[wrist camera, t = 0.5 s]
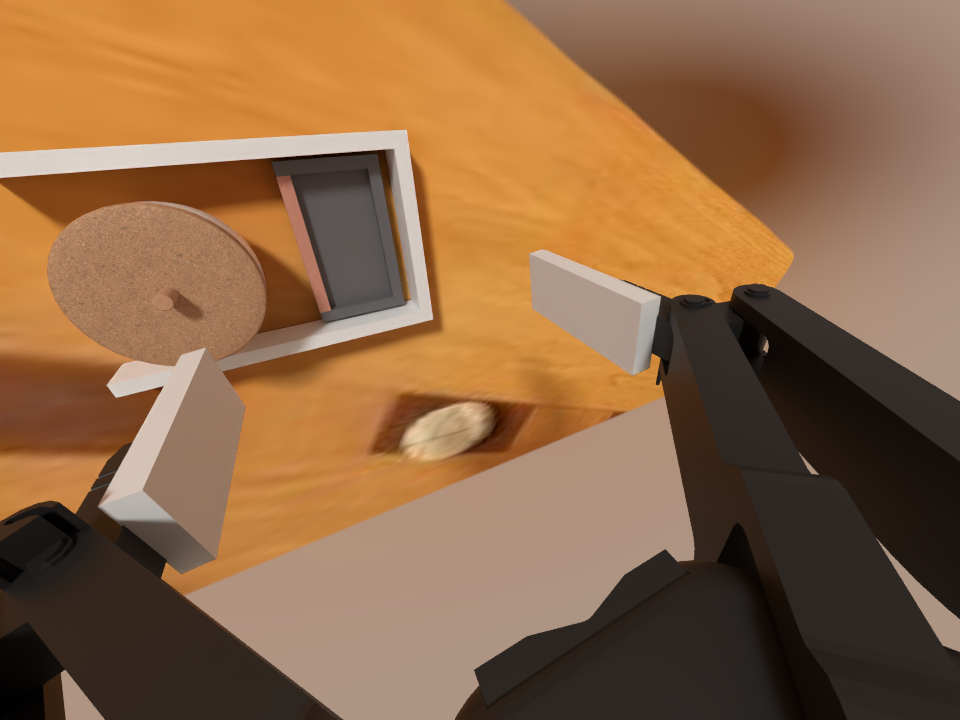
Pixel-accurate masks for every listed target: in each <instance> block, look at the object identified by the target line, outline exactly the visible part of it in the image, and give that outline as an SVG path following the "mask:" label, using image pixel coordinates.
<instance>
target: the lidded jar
mask: <svg viewBox="0 0 960 720" xmlns="http://www.w3.org/2000/svg"><path fill="white" fill-rule="evenodd" d="M47 274H48V279H49V285H50V288H51V290H52V293H53V295H54V298H55V300H56V302H57V303H58V305H59V306H60V308H61V310H62V311H63V313H64V314H65V315H66V316H67V317H68V318H69V320H70V321H71V322H72V323H73V324H74V325H75V326H76V327H77V328H78V329H79V330H81V331H82V332H83V333H84V334H85V335H87V336H88V337H89V338H91V339H92V340H94V341H95V342H97V343H99V344H100V345H102V346H103V347H105V348H108V349H110V350H112V351H114V352H116V353H118V354H120V355H123V356H126V357H128V358H131V359H134V360H138V361H142V362H146V363H150V364H157V365H164V366H175V365H176V364H177V362H178V360H179V358H180V356H181V355H182V354H186V353H189V352H193V351H196V350H199V349H203V348H207V350H208V351H209V353H210V354H211V356H212V357H213V359H214V360H215V361H218V360H221V359H224V358H226V357H228V356H230V355H232V354H234V353H236V352H237V351H239V350H240V349H242V348H243V347H245V346H246V345H247V344H248V343H249V342H250V341H251V340H252V339H253V338H254V336H255V335H256V334H257V332H258V331H259V329H260V327H261V325H262V323H263V321H264V318H265V314H266V310H267V290H266V282H265V276H264V273H263V270H262V267H261V264H260V262H259V260H258V258H257V256H256V254H255V253H254V251H253V250H252V248H251V247H250V246H249V244H248V243H247V242H246V241H245V240H244V239H243V238H242V237H241V236H240V234H238V233H237V232H236V231H235V230H234V229H232V228H231V227H230V226H229V225H227V224H226V223H224V222H222V221H221V220H219V219H218V218H216V217H214V216H212V215H210V214H208V213H206V212H204V211H201V210H198V209H195V208H192V207H189V206H185V205H181V204H176V203H169V202H158V201H143V202H133V203H121V204H116V205H111V206H106V207H102V208H100V209H97V210H94V211H91V212H89V213H86V214H84V215H82V216H81V217H79V218H77V219H76V220H74V221H72V222H71V223H70V224H69V225H68V226H67V227H66V228H65V229H64V230H62V231H61V232H60V234H59V235H58V237H57V238H56V240H55V242H54V243H53V245H52V248H51V251H50V254H49V257H48V268H47Z"/></svg>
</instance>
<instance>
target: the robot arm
mask: <svg viewBox="0 0 960 720" xmlns="http://www.w3.org/2000/svg"><path fill="white" fill-rule="evenodd" d="M529 258H530V275H531V292H532V309H534V310H535V311H537V312H538V313H540V314H541V315H543V316H544V317H546V318H547V319H549V320H550V321H552V322H553V323H555V324H556V325H558V326H559V327H561V328H562V329H564V330H565V331H567V332H568V333H570V334H571V335H573V336H574V337H576V338H577V339H579V340H580V341H582V342H583V343H585V344H586V345H588V346H589V347H591V348H592V349H594V350H595V351H597V352H598V353H600V354H601V355H603V356H604V357H606V358H607V359H609V360H610V361H612V362H613V363H615V364H616V365H618V366H619V367H620V368H622V369H623V370H625V371H626V372H628V373H629V374H631V375H632V376H633V375H635V374H637V373H639V372H642V371H644V370H646V369H648V368H650V361H651V355H652V353H653V354H655V355H656V356H658V357H660V364H659V369H658V375H657V380H656V385H659V384H660V381H661V380H662V385H663V390H664V395H665V400H666V405H667V409H668V414H669V419H670V424H671V429H672V434H673V439H674V443H675V449H676V454H677V458H678V463H679V468H680V473H681V478H682V483H683V487H684V492H685V498H686V502H687V507H688V512H689V517H690V522H691V527H692V532H693V537H694V547H695V551H694V552H695V553H694V560H691V561H679V562H677V561H676V560H675V559H674V558H673V557H672V556H671V555H670V554H669V553H668V551H667V550H663V551H662V552H660V553H659V554H657V555H655V556H654V557H652V558H651V559H649V560H647V561H646V562H644V563H643V564H641V565H640V566H638V567H636V568H635V569H633V570H632V571H630V572H628V573H627V574H625V575H624V576H623V578H622V579H621V580H620V581H619V583H618V584H617V585H616V586H615V588H614V589H613V590H612V591H611V593H610V594H609V595H608V597H607V598H606V599H605V600H604V601H603V603H602V604H601V605H600V607H599V608H598V609H597V610H596V612H595V613H594V614H593V616H591V618H589V619H588V620H586V621H584V622H581V623H577V624H573V625H569V626H565V627H562V628H557V629H554V630H550V631H546V632H542V633H538V634H534V635H530V636H527V637H525V638H524V639H522V640H521V641H519V642H517V643H516V644H514V645H513V646H511V647H510V648H508V649H506V650H505V651H503V652H502V653H500V654H498V655H497V656H495V657H494V658H492V659H491V660H489V661H487V662H486V663H484V664H483V665H481V666H480V667H478V668H476V669H475V670H474V671H475V674H476V677H477V680H478V683H479V686H478V687H477V689H476V690H475V691H474V692H473V693H472V694H471V696H470V697H469V698H468V699H467V701H466V702H465V704H464V705H463V707H462V708H461V710H460V711H459V713H458V714H457V716H456V718H455V720H960V652H958V651H955V650H952V649H950V648H948V647H945V646H942V644H941V642H940V641H939V639H938V638H937V636H936V634H935V633H934V631H933V629H932V628H931V626H930V625H929V623H928V621H927V620H926V618H925V617H924V615H923V613H922V612H921V610H920V608H919V607H918V605H917V604H916V602H915V600H914V599H913V597H912V595H911V594H910V592H909V591H908V589H907V587H906V586H905V584H904V583H903V581H902V579H901V578H900V576H899V575H898V573H897V571H896V570H895V568H894V566H893V565H892V563H891V562H890V560H889V558H888V557H887V555H886V554H885V552H884V550H883V549H882V547H881V545H880V544H879V542H878V541H877V539H878V540H879V541H880V543H881V544H882V545H883V546H884V547H885V548H886V549H887V550H888V551H889V552H890V554H891V555H892V556H893V557H894V558H895V559H896V560H897V561H898V562H899V563H900V564H901V565H902V566H903V567H904V568H905V569H906V570H907V571H908V572H909V573H910V574H911V575H912V576H913V577H914V578H915V579H916V580H917V581H918V582H919V583H920V584H921V585H922V586H923V587H924V588H926V589H927V590H928V591H929V592H930V593H931V594H932V595H933V596H934V597H935V598H936V599H937V600H938V601H940V602H941V603H942V604H943V605H944V606H945V607H946V608H947V609H948V610H949V611H951V612H952V613H953V614H954V615H956V616H957V617H958V618H959V619H960V401H959V400H957V399H955V398H954V397H952V396H950V395H949V394H947V393H945V392H944V391H942V390H941V389H939V388H937V387H936V386H934V385H932V384H931V383H929V382H928V381H926V380H924V379H923V378H921V377H919V376H918V375H916V374H915V373H913V372H911V371H910V370H908V369H906V368H905V367H903V366H902V365H900V364H898V363H896V362H895V361H893V360H892V359H890V358H889V357H887V356H885V355H883V354H882V353H880V352H879V351H877V350H876V349H874V348H872V347H871V346H869V345H867V344H866V343H864V342H862V341H861V340H859V339H858V338H856V337H854V336H853V335H851V334H849V333H848V332H846V331H845V330H843V329H841V328H840V327H838V326H836V325H835V324H833V323H832V322H830V321H828V320H826V319H825V318H823V317H822V316H820V315H819V314H817V313H815V312H814V311H812V310H810V309H809V308H807V307H805V306H804V305H802V304H801V303H799V302H797V301H796V300H794V299H792V298H791V297H789V296H787V295H786V294H784V293H783V292H781V291H779V290H777V289H775V288H773V287H768V286H766V285H763V284H759V285H758V284H752V285H742V286H738V287H736V288H734V290H733V294H732V297H731V301H728V302H721V303H716V302H715V301H714V300H712V299H710V298H708V297H705V296H700V295H690V294H689V295H680V296H677V297H674V298H673V299H671V298H668V297H666V296H663V295H661V294H658V293H656V292H653V291H651V290H648V289H646V290H645V288H643V287H641V286H637V285H636V284H633V283H631V282H628V281H625V280H619V279H616V278H614V277H611V276H609V275H606V274H604V273H601V272H599V271H596V270H594V269H591V268H589V267H586V266H584V265H581V264H579V263H576V262H574V261H571V260H569V259H566V258H564V257H561V256H559V255H557V254H554V253H552V252H549V251H547V250H544V249H543V250H540V251H536V252H533V253H529ZM766 340H768V344H769V348H768V352H767V353H766V352H765V351H764V350H763V348H764V346H765V343H766ZM244 412H245V405H244V403H243V402H242V400H241V399H240V397H239V396H238V394H237V393H236V391H235V390H234V388H233V387H232V385H231V384H230V382H229V381H228V379H227V378H226V377H225V375H224V374H223V372H222V371H221V369H220V368H219V366H218V365H217V363H216V362H215V360H214V359H213V357H212V356H211V354H210V353H209V351H208V350H207V348H203V349H199V350H196V351H193V352H189V353H186V354H182V355H181V356H180V358H179V360H178V362H177V364H176V365H175V367H174V369H173V371H172V373H171V374H170V376H169V378H168V380H167V382H166V383H165V385H164V387H163V389H162V391H161V393H160V394H159V396H158V398H157V400H156V402H155V403H154V405H153V407H152V409H151V411H150V412H149V414H148V416H147V418H146V420H145V422H144V423H143V425H142V427H141V429H140V431H139V432H138V434H137V436H136V438H135V440H134V441H133V442H131V443H128V444H125V445H124V446H122V447H121V448H120V449H119V450H118V451H117V452H116V453H115V454H114V455H113V456H112V457H111V458H110V459H109V460H108V461H107V462H106V464H105V466H104V467H103V469H102V471H101V472H100V474H99V478H98V479H96V481H95V482H94V484H93V486H92V487H91V490H92V491H90V492H88V494H87V496H86V497H85V499H84V501H83V502H82V504H81V506H80V507H79V509H78V511H77V512H76V514H74V513H73V512H71V511H70V510H69V509H67V508H66V507H65V506H63V505H62V504H61V503H59V502H55V501H46V502H42V503H37V504H34V505H32V506H30V507H27V508H25V509H22V510H20V511H18V512H16V513H14V514H13V515H11V516H9V517H7V518H6V519H4V520H2V521H0V589H1V591H0V720H66V718H65V710H64V700H63V691H62V681H61V672H62V671H64V670H66V671H67V672H68V673H69V674H70V676H71V677H72V678H73V680H74V681H75V682H76V684H77V685H78V686H79V687H80V689H81V690H82V691H83V692H84V694H85V695H86V696H87V697H88V699H89V700H90V701H91V703H92V704H93V705H94V706H95V707H96V709H97V710H98V711H99V713H100V714H101V715H102V716H103V718H104V719H105V720H343V719H342V718H340V717H339V716H338V715H336V714H335V713H334V712H333V711H331V710H330V709H329V708H327V707H326V706H325V705H324V704H322V703H321V702H319V701H318V700H317V699H316V698H315V697H313V696H312V695H311V694H309V693H308V692H307V691H306V690H304V689H303V688H302V687H300V686H299V685H298V684H296V683H295V682H294V681H292V680H291V679H290V678H289V677H287V676H286V675H285V674H284V673H282V672H281V671H280V670H278V669H277V668H276V667H275V666H273V665H272V664H271V663H269V662H268V661H267V660H265V659H264V658H263V657H262V656H260V655H259V654H258V653H256V652H255V651H254V650H253V649H251V648H250V647H249V646H247V645H246V644H245V643H244V642H242V641H241V640H240V639H238V638H237V637H236V636H235V635H233V634H232V633H231V632H229V631H228V630H227V629H226V628H224V627H223V626H222V625H220V624H219V623H218V622H216V621H215V620H214V619H213V618H211V617H210V616H209V615H207V614H206V613H205V612H204V611H202V610H201V609H200V608H198V607H197V606H196V605H194V604H193V603H192V602H191V601H189V600H188V599H187V598H186V597H184V596H183V595H182V594H180V593H179V592H178V591H176V590H175V589H174V588H173V587H171V586H170V585H169V584H167V583H166V582H165V581H163V580H162V579H161V576H162V573H163V570H164V567H165V564H166V562H167V563H168V564H169V565H171V566H172V567H173V568H174V569H176V570H177V571H178V572H179V573H181V574H183V573H185V572H187V571H189V570H192V569H194V568H196V567H198V566H201V565H203V564H205V563H208V562H210V561H212V560H214V559H216V558H217V552H218V547H219V542H220V537H221V532H222V526H223V521H224V516H225V511H226V505H227V500H228V495H229V490H230V485H231V479H232V474H233V469H234V464H235V459H236V453H237V448H238V443H239V438H240V432H241V427H242V422H243V417H244ZM799 453H800V454H801V455H802V456H803V457H804V458H805V459H806V461H807V462H808V463H809V464H810V465H811V466H812V467H813V468H814V469H815V470H816V471H817V473H818V474H819V475H815V474H811V473H810V472H809V470H808V469H807V467H806V465H805V463H804V461H803V460H802V458H801V456H800V454H799ZM876 538H877V539H876Z"/></svg>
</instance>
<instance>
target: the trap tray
mask: <svg viewBox="0 0 960 720" xmlns="http://www.w3.org/2000/svg"><path fill="white" fill-rule="evenodd" d="M271 163H272V166H273V169H274V172H275V176H276V179H277V182H278V185H279V188H280V191H281V194H282V197H283V200H284V203H285V206H286V209H287V213H288V216H289V219H290V222H291V225H292V228H293V231H294V234H295V237H296V240H297V243H298V246H299V249H300V253H301V256H302V259H303V262H304V265H305V268H306V271H307V274H308V277H309V280H310V283H311V286H312V289H313V293H314V296H315V299H316V302H317V305H318V308H319V311H320V314H321V317H322V320H323V322H327V321H332V320H336V319H341V318H345V317H349V316H354V315H358V314H363V313H367V312H372V311H376V310H381V309H385V308H389V307H394V306H398V305H403V304H405V302H404V297H403V291H402V286H401V280H400V275H399V269H398V264H397V258H396V253H395V248H394V242H393V237H392V231H391V226H390V220H389V215H388V209H387V204H386V198H385V193H384V187H383V182H382V176H381V171H380V166H379V160H378V155H377V154H362V155H349V156H336V157H323V158H310V159H297V160H284V161H272V162H271Z"/></svg>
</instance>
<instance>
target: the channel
mask: <svg viewBox="0 0 960 720" xmlns="http://www.w3.org/2000/svg"><path fill="white" fill-rule="evenodd" d="M383 149H385V154H386V159H387V165H388V171H389V177H390V183H391V188H392V194H393V200H394V206H395V212H396V217H397V223H398V229H399V235H400V241H401V246H402V252H403V258H404V264H405V270H406V275H407V281H408V287H409V293H410V299H411V300H408V301H404V302H405V304H403V305H398V306H394V307H389V308H385V309H381V310H376V311H372V312H367V313H363V314H358V315H354V316H349V317H345V318H341V319H336V320H332V321H327V322H323V320H318V321H313V322H309V323H304V324H300V325H295V326H291V327H286V328H282V329H277V330H273V331H268V332H264V333H259V334H256V335H255V336H254V338H253V339H252V340H251V341H250V342H249V343H248V344H247V345H246V346H245V347H243V348H242V349H240V350H239V351H237V352H236V353H234V354H232V355H230V356H228V357H226V358H224V359H221V360H218V361H215V362H216V363H217V365H218V366H219V368H220V369H221V371H226V370H230V369H235V368H239V367H243V366H247V365H251V364H255V363H259V362H263V361H267V360H271V359H275V358H279V357H283V356H287V355H291V354H295V353H299V352H303V351H308V350H312V349H316V348H320V347H324V346H328V345H332V344H336V343H340V342H344V341H348V340H352V339H356V338H360V337H364V336H368V335H372V334H376V333H380V332H385V331H389V330H393V329H397V328H401V327H405V326H409V325H413V324H417V323H421V322H425V321H429V320H433V314H432V307H431V300H430V293H429V286H428V279H427V272H426V265H425V257H424V250H423V243H422V236H421V229H420V222H419V215H418V208H417V200H416V193H415V186H414V179H413V172H412V165H411V158H410V151H409V144H408V136H407V130H393V131H375V132H358V133H340V134H322V135H304V136H287V137H269V138H251V139H234V140H216V141H198V142H181V143H163V144H145V145H128V146H110V147H92V148H75V149H57V150H39V151H22V152H4V153H0V178H5V177H18V176H32V175H45V174H59V173H72V172H86V171H99V170H113V169H126V168H140V167H153V166H167V165H180V164H194V163H207V162H221V161H235V160H248V159H262V158H275V157H289V156H302V155H316V154H329V153H343V152H356V151H370V150H383ZM174 367H175V366H164V365H157V364H150V363H146V362H142V361H133V362H129V363H124V364H122V366H121V367H120V368H119V370H118V371H117V372H116V374H115V375H114V376H113V378H112V379H111V380H110V382H109V383H108V384H107V387H108V388H109V389H110V390H111V392H112V393H113V394H114V396H115V397H116V398H117V397H121V396H125V395H129V394H133V393H137V392H141V391H145V390H149V389H153V388H158V387H162V386H164V385H165V383H166V382H167V380H168V378H169V376H170V374H171V373H172V371H173V369H174Z"/></svg>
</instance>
